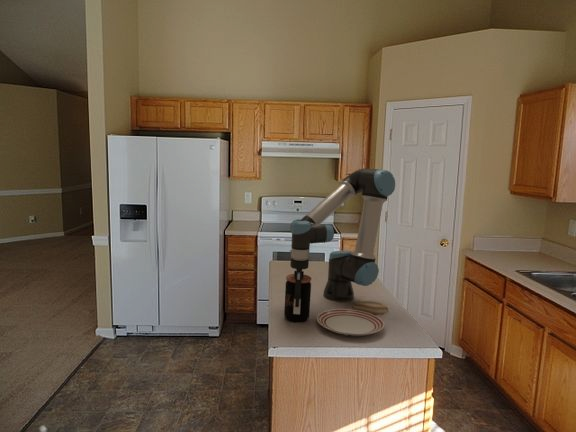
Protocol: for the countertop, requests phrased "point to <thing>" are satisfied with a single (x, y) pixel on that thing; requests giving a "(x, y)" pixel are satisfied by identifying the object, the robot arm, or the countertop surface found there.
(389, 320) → the countertop surface
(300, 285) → the robot arm
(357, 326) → the dinner plate
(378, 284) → the countertop surface
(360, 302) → the cork trivet
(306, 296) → the coffee jar
